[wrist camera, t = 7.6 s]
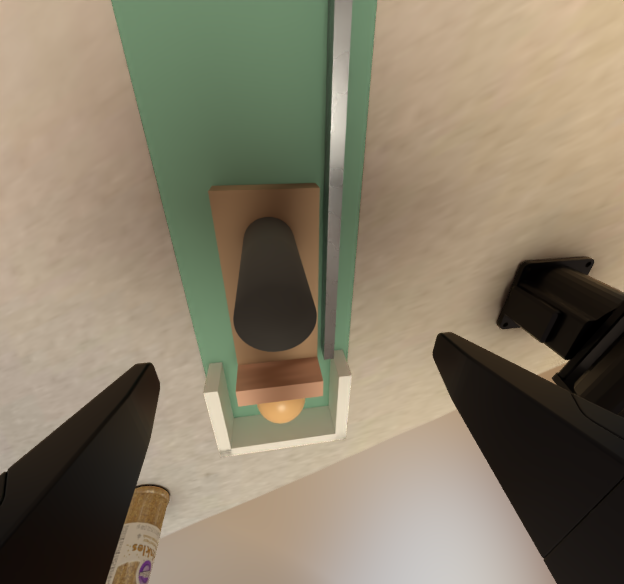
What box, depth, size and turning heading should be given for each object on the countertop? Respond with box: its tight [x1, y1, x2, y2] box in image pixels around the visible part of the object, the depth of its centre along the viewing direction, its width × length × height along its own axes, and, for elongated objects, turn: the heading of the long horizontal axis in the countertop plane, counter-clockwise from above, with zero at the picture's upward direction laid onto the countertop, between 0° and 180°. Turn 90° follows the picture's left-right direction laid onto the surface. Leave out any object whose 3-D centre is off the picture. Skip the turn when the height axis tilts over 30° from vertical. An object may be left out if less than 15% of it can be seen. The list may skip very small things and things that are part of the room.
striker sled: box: [208, 183, 323, 407], centre depth 17 cm, size 6×14×10 cm, turn 0°
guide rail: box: [321, 0, 353, 360], centre depth 18 cm, size 1×24×2 cm, turn 0°
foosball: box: [257, 398, 305, 424], centre depth 24 cm, size 4×4×4 cm
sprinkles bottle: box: [106, 486, 169, 584], centre depth 26 cm, size 5×5×14 cm
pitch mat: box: [111, 0, 377, 418], centre depth 21 cm, size 12×32×1 cm, turn 0°
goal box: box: [203, 350, 352, 457], centre depth 25 cm, size 11×8×3 cm
